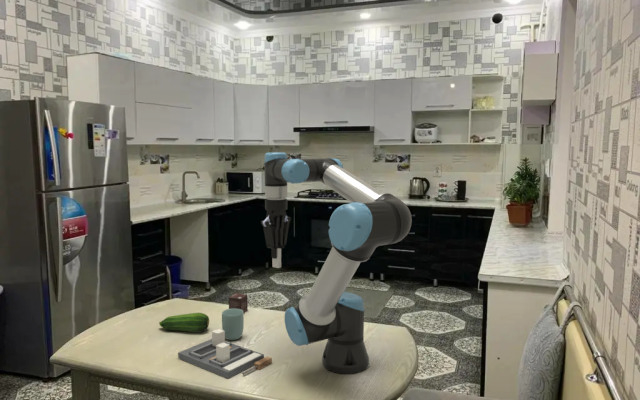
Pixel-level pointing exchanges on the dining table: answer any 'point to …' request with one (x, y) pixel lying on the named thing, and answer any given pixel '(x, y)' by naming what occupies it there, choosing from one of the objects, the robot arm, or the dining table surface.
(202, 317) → the vegetable
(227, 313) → the cup
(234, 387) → the dining table surface
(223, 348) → the tab
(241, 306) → the box
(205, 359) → the switch board
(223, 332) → the tab
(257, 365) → the screwdriver
